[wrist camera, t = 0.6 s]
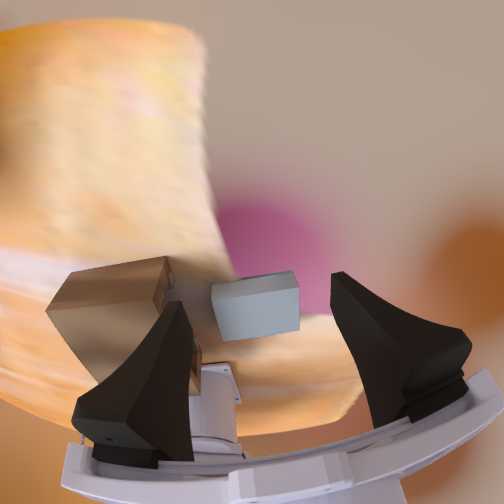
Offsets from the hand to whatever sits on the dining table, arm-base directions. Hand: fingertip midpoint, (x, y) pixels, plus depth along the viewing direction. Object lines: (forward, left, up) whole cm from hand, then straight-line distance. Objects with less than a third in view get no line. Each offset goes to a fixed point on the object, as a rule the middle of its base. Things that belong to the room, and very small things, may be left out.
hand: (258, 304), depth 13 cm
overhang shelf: (-7, +12, -9) cm, 17 cm away
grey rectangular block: (-7, 0, -10) cm, 12 cm away
